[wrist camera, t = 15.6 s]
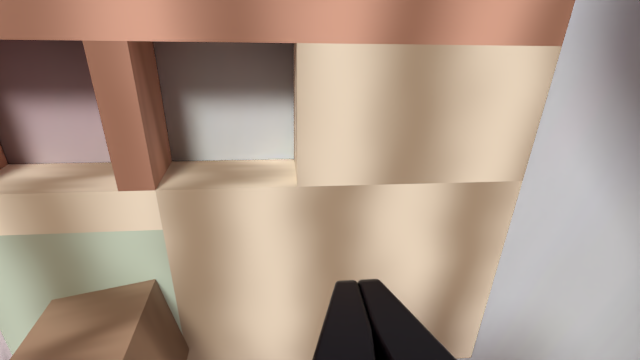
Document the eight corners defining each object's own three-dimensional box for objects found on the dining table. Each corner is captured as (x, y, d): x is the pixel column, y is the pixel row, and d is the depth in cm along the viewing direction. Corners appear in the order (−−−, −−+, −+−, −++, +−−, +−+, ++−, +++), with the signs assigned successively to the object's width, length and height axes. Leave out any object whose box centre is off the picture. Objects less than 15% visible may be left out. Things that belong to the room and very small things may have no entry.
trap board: (531, -12, 17) (578, -10, 14) (451, 319, 26) (470, 357, 24) (-93, -29, 15) (-175, -32, 12) (56, 344, 24) (29, 389, 21)
